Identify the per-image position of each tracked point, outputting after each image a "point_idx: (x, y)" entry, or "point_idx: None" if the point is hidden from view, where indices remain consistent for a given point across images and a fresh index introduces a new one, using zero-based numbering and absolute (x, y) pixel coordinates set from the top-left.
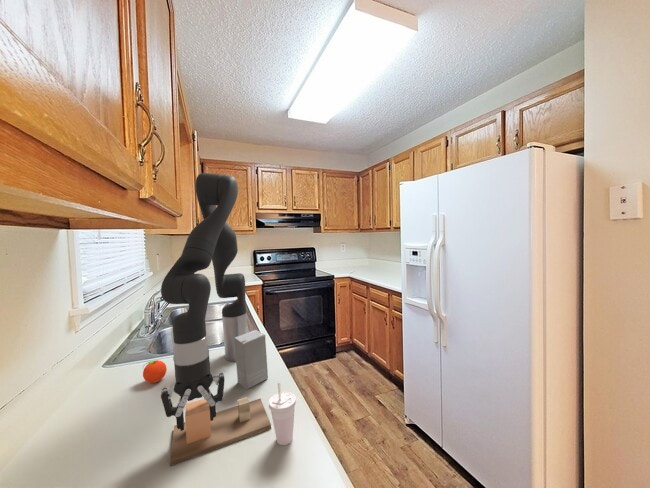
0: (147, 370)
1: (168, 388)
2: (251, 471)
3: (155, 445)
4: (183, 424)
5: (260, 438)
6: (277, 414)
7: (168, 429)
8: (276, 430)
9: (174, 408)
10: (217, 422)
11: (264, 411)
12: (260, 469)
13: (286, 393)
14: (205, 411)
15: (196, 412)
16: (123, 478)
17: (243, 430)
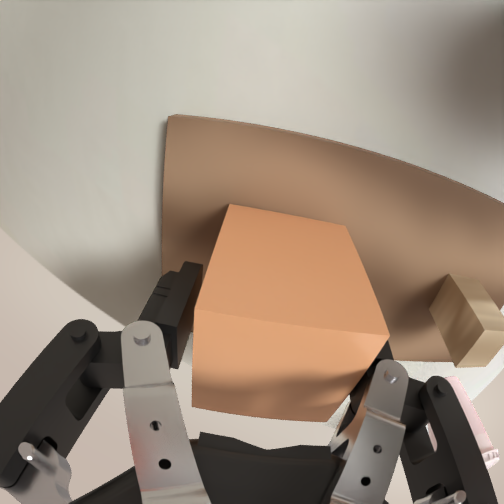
0: None
1: (19, 500)
2: (341, 415)
3: (105, 179)
4: (193, 319)
5: (418, 367)
6: None
7: (149, 94)
8: (428, 427)
9: (111, 374)
10: (372, 250)
11: (500, 305)
12: None
13: (493, 462)
14: (303, 417)
15: (256, 412)
16: (58, 269)
17: (407, 347)
